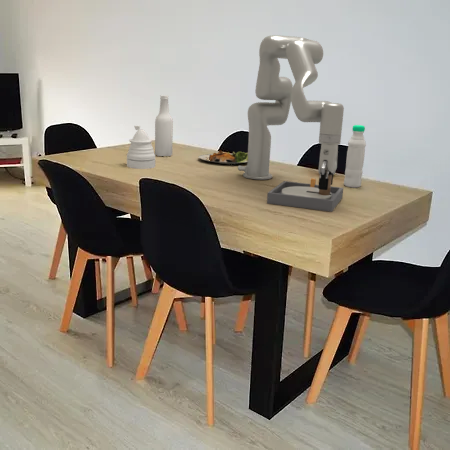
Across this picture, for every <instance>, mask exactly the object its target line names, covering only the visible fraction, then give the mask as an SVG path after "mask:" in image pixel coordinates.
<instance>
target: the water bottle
mask: <svg viewBox="0 0 450 450" xmlns="http://www.w3.org/2000/svg"><path fill="white" fill-rule="evenodd" d="M365 130H366V126H365V125H360V124H354V125H353V126H352V135H351V136H350V138H349V140H348V142H347V146H348V147H347V151H346V161H345V162H346V163H345V171H344V179H343V185H344V186H345V187H348V188H353V189H354V188H356V189H357V188H361V186H362V177H363V167H364V161H365V154H366V153H365V151H366V146H367V143H366V139H365V136H364V132H365Z"/></svg>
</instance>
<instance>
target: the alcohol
mask: <svg viewBox="0 0 450 450" xmlns="http://www.w3.org/2000/svg"><path fill="white" fill-rule="evenodd" d="M158 111H159V112H158V115H156V117H155V121H154V132H155V133H154V154H155V156H156V155H157V156H156V157H159V156H170V157H172V156H173V142H174V141H173V138H174V137H173V135H174V133H173V131H174V129H173V128H174V127H173V126H174V121H173V118H172V116H171V114H170V109H169V95H168V94H161V95H160V101H159V110H158ZM171 155H172V156H171Z"/></svg>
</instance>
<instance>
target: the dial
mask: <svg viewBox="0 0 450 450" xmlns="http://www.w3.org/2000/svg"><path fill="white" fill-rule="evenodd" d="M328 179H329V180H328V189H327V190H321V189H318V188H315V187H305V186H293V187H286V188H283V189H282V194H288V195H296V196H304V197H312V198H320V199H328V200H330V199H331V196H332V193H331V192H330V190H331V186H332V185H331V180H332V175H330V174H329V175H328Z"/></svg>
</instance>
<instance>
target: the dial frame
mask: <svg viewBox="0 0 450 450" xmlns="http://www.w3.org/2000/svg"><path fill="white" fill-rule="evenodd" d="M316 181H317V179H316V178H310V183H306V182H297V181H288V180H287V181H286V180H283V181H282V182H280V183H279V184H278V185H277V186H275V187H274V188H272V189H271V190H269V191H267V197H266V204H269V205H277V206H285V207H294V208H302V209H306V210H307V209H308V210H309V209H310V210H315V211H322V212H323V211H324V212H333V211H335V208H337V206H338V204H339V203H340V202H341V200H342V199H343V194H344V187H341V186H333V185H331V190H330V192H331V193H332V196H331V199H330V200H328V199H320V198H312V197H304V196H296V195H288V194H282V189H283V188H286V187H293V186H305V187H315V188H318V186H319V184H316Z"/></svg>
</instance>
